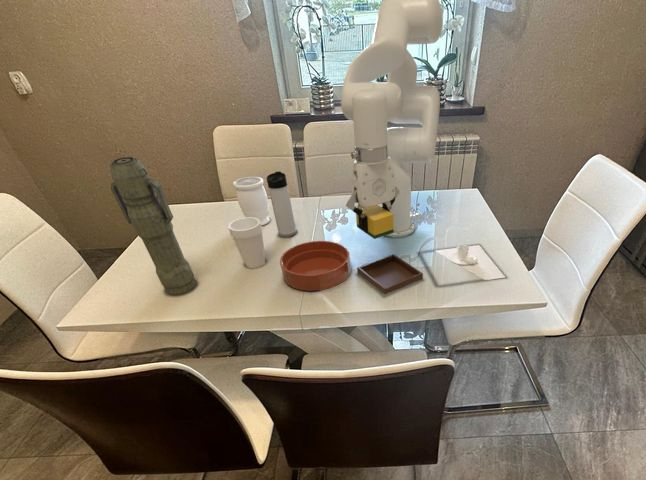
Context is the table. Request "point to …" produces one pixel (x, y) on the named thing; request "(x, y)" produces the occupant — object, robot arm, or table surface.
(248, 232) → the foam cup
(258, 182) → the jar
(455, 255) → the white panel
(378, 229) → the sponge
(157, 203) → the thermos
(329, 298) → the table surface
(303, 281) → the terracotta plant saucer
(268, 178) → the travel mug
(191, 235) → the table surface
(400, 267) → the tray
